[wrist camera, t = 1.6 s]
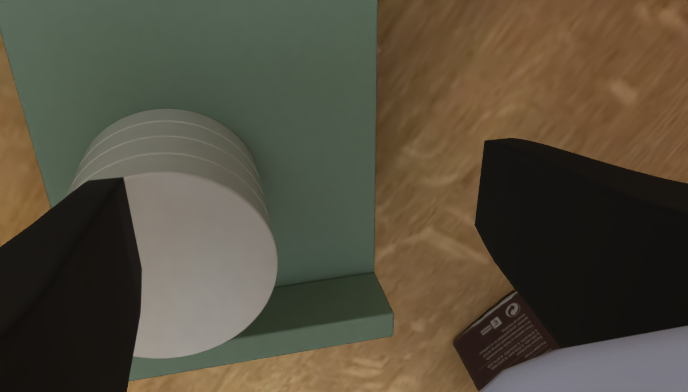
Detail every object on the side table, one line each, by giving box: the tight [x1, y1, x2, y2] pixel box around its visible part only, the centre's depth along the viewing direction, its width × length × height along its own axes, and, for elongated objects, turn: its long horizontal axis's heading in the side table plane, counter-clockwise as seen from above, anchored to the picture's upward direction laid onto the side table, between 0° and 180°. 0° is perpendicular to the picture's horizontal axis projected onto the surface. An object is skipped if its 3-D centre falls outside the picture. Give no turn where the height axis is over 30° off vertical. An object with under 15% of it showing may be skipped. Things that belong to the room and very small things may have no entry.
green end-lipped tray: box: [0, 0, 394, 381], centre depth 17 cm, size 16×10×5 cm, turn 1°
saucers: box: [67, 109, 278, 359], centre depth 16 cm, size 5×5×4 cm
